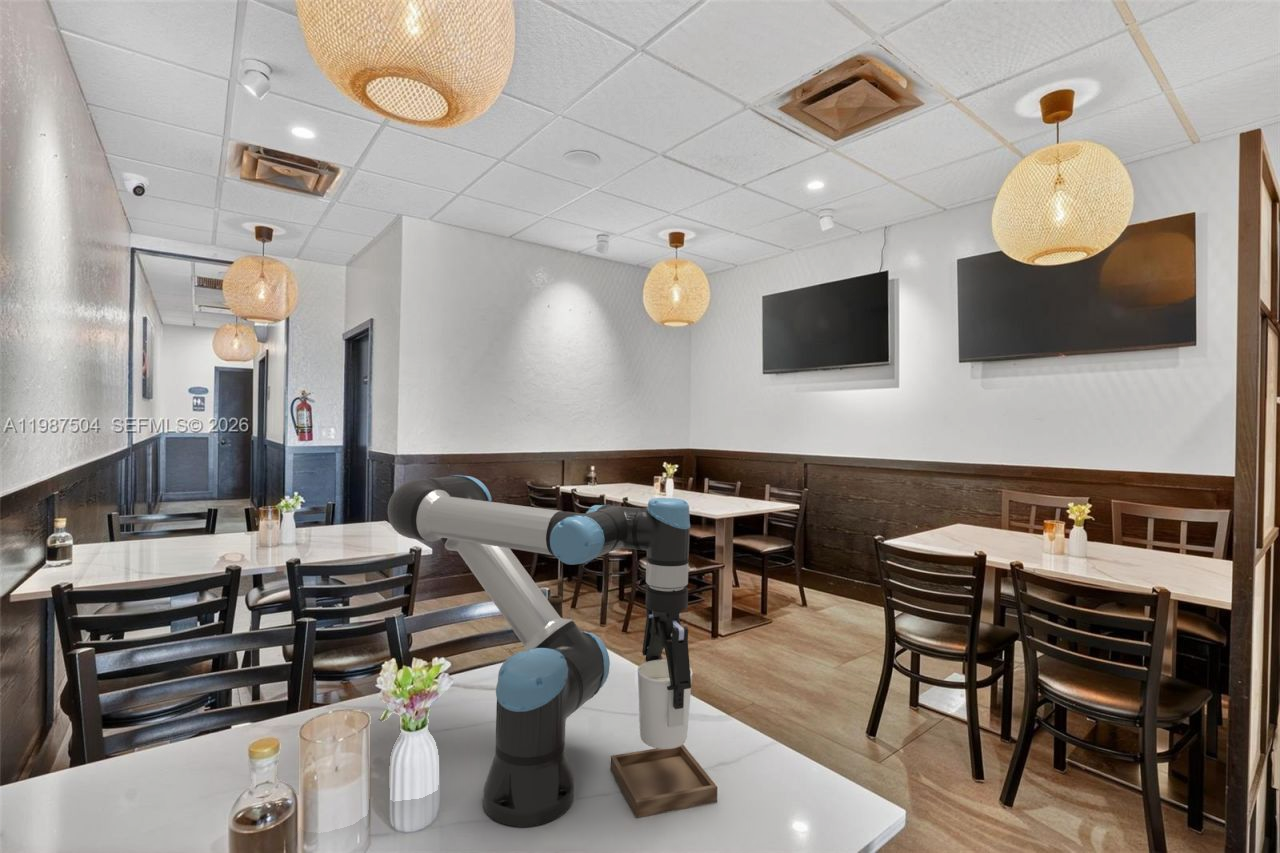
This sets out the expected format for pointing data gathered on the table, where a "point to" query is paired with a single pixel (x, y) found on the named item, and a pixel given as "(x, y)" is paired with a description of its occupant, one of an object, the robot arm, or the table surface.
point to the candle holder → (659, 707)
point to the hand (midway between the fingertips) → (663, 711)
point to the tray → (662, 780)
